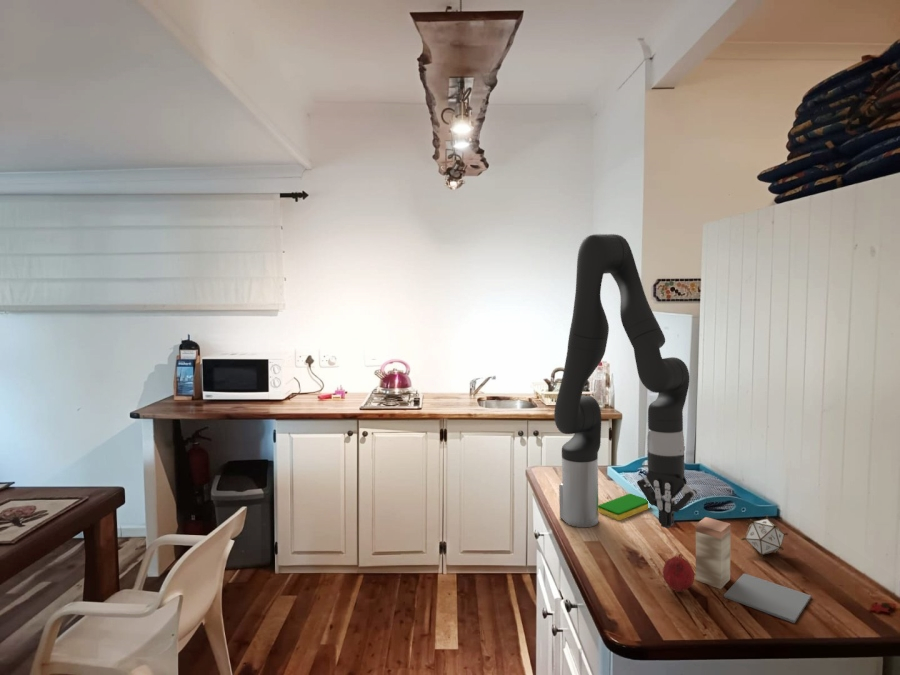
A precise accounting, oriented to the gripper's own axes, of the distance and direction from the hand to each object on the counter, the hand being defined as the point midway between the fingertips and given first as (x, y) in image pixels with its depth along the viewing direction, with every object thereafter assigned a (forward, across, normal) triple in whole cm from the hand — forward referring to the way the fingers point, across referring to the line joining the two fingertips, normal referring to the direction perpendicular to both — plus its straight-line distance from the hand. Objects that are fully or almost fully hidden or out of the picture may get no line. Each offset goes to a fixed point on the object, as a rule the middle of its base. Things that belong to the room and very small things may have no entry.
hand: (666, 526), depth 117 cm
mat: (+9, +20, +1) cm, 22 cm away
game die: (+9, +14, +19) cm, 25 cm away
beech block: (+9, +10, 0) cm, 13 cm away
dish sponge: (+9, -21, +20) cm, 31 cm away
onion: (+9, +7, -9) cm, 14 cm away
